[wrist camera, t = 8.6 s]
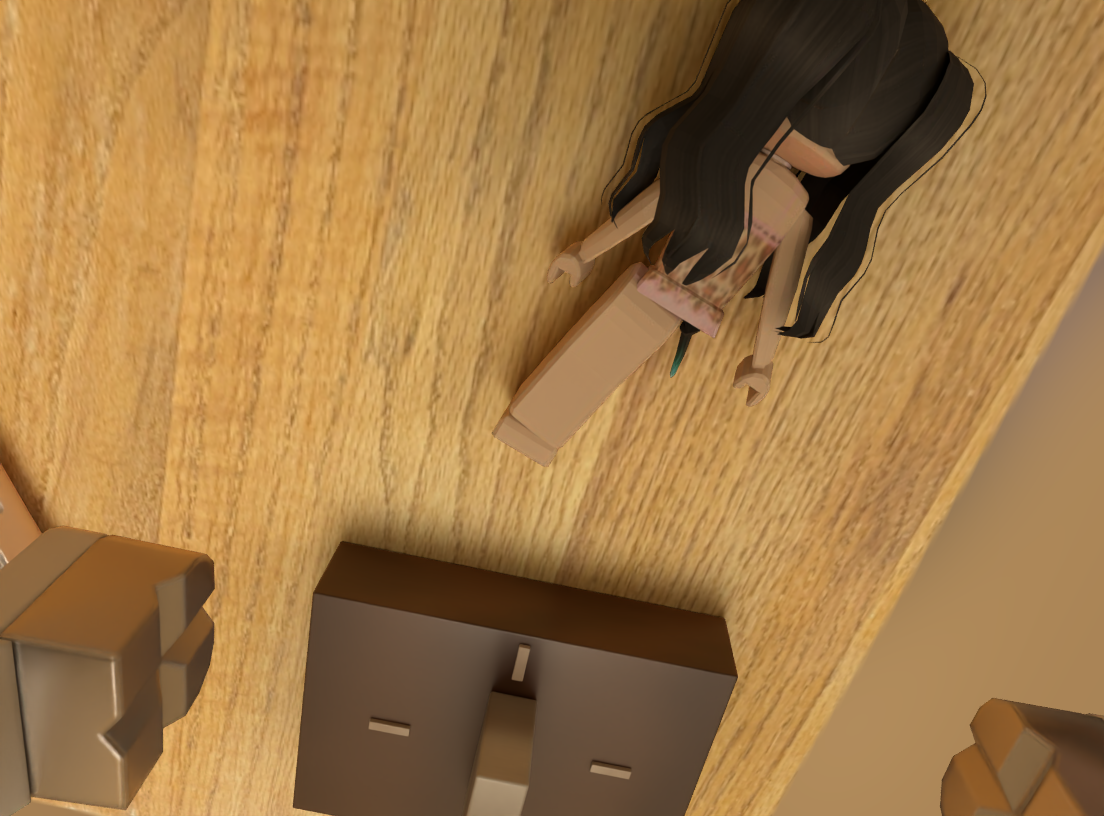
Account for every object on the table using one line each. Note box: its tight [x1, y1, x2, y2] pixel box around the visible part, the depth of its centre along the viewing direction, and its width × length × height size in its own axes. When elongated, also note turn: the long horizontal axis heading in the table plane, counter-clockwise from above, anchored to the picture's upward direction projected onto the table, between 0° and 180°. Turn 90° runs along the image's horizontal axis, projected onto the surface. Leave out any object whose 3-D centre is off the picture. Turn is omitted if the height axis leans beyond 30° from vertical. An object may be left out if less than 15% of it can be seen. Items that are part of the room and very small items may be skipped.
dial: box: [462, 692, 537, 816], centre depth 26 cm, size 5×2×4 cm, turn 168°
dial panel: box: [293, 542, 738, 816], centre depth 29 cm, size 14×10×3 cm
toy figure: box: [492, 0, 986, 467], centre depth 21 cm, size 7×6×15 cm
